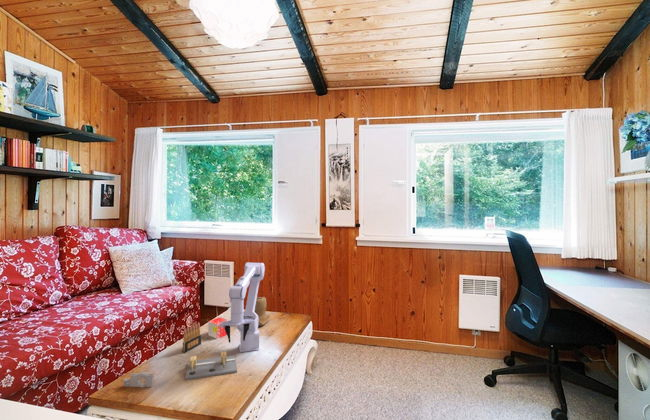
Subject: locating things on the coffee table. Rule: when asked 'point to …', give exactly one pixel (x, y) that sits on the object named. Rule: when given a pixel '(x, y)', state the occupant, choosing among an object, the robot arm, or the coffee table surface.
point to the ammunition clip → (191, 338)
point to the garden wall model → (136, 382)
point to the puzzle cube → (216, 328)
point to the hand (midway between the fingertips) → (236, 340)
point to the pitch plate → (210, 367)
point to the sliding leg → (223, 358)
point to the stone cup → (261, 310)
